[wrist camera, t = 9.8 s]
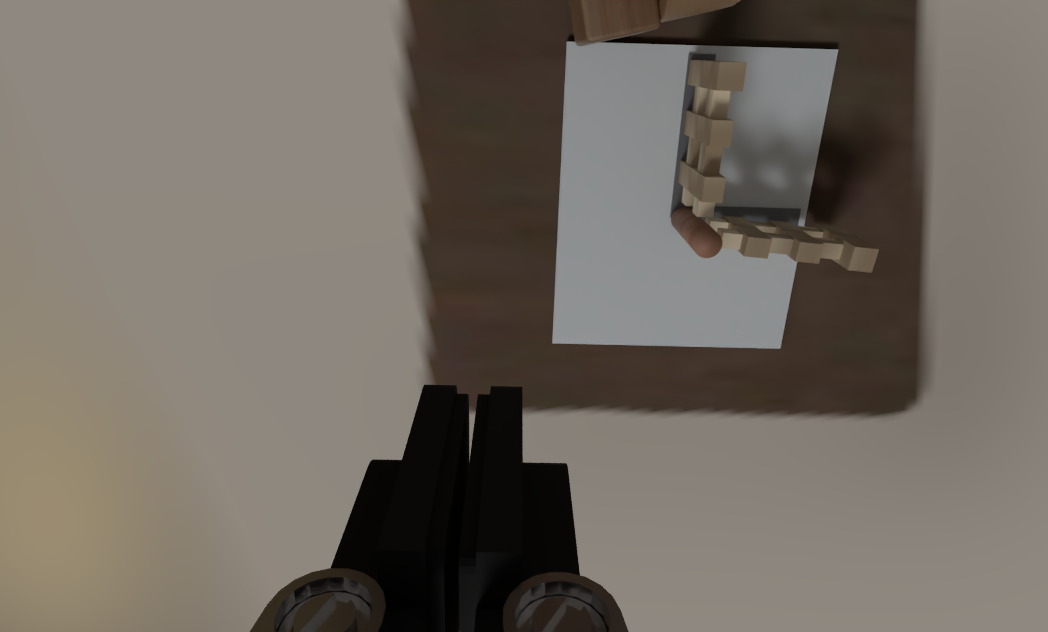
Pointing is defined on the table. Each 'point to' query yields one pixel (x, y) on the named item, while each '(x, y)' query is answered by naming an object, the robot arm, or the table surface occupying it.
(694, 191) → the fence fixed
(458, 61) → the table surface
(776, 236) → the beige stepped wooden piece
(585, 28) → the wooden toy
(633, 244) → the card
